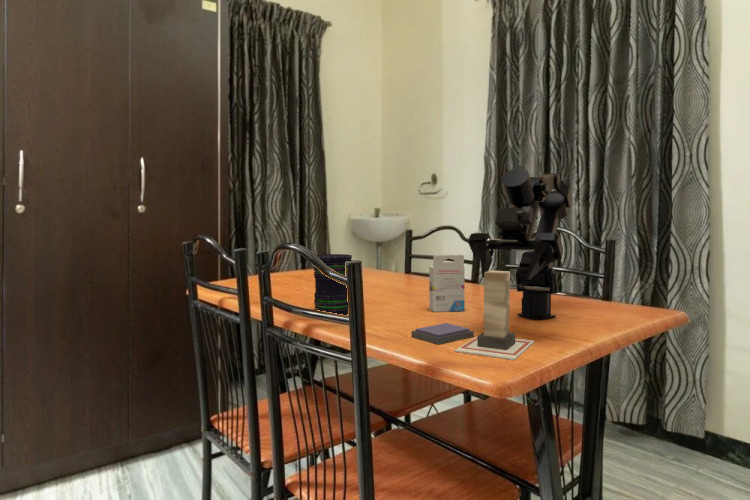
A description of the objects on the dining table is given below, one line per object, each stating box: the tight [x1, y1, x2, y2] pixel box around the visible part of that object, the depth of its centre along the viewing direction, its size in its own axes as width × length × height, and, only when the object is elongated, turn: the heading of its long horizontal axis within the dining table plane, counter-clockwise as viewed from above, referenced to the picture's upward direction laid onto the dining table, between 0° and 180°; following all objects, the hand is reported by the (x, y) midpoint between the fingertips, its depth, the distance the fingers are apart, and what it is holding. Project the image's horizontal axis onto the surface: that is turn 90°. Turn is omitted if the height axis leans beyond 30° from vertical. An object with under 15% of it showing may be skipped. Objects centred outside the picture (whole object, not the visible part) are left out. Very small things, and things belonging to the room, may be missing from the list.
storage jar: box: [313, 253, 353, 315], centre depth 129 cm, size 10×10×15 cm
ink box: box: [428, 254, 466, 313], centre depth 133 cm, size 8×5×15 cm, turn 96°
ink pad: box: [411, 322, 475, 346], centre depth 104 cm, size 10×8×2 cm
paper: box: [454, 335, 535, 361], centre depth 96 cm, size 14×11×1 cm
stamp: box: [477, 270, 516, 350], centre depth 96 cm, size 6×6×14 cm
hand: (505, 277), depth 101 cm, fingers open, 9 cm apart
